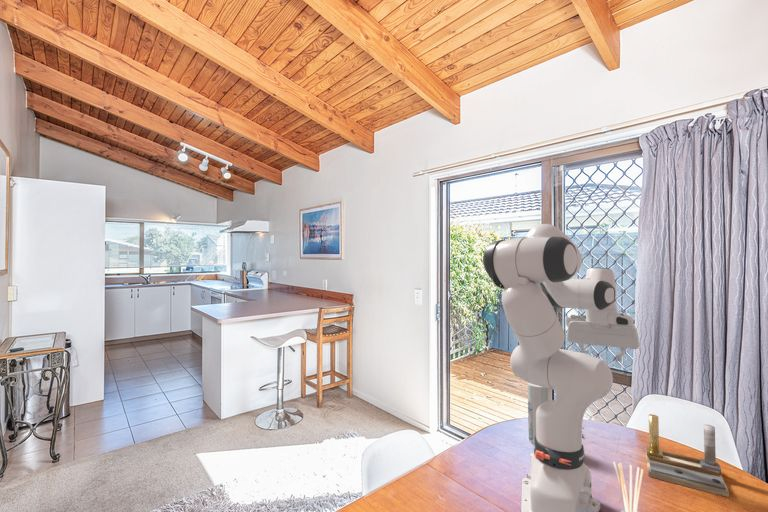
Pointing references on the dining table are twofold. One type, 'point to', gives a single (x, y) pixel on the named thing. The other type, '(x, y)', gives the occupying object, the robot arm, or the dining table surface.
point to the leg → (654, 438)
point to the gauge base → (691, 468)
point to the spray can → (535, 406)
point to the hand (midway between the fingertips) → (602, 358)
